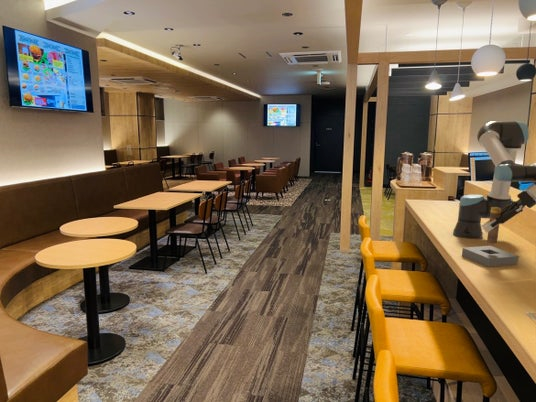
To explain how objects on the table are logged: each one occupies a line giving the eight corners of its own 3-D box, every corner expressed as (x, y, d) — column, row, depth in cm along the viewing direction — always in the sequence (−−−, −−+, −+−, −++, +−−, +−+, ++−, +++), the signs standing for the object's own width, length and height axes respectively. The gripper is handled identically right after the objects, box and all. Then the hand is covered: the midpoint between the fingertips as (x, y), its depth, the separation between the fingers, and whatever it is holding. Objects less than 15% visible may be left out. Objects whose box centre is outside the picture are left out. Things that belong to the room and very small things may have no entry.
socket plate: (489, 253, 190) (490, 245, 190) (517, 264, 175) (518, 256, 174) (461, 255, 186) (462, 247, 185) (488, 267, 171) (489, 258, 170)
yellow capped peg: (492, 240, 181) (496, 206, 178) (499, 243, 177) (503, 208, 174) (484, 241, 180) (488, 207, 177) (491, 243, 176) (496, 209, 173)
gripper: (542, 206, 161) (492, 240, 170) (532, 199, 177) (487, 231, 186) (529, 192, 162) (480, 227, 171) (520, 187, 178) (476, 219, 187)
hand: (484, 229), depth 179 cm, fingers closed on yellow capped peg, 4 cm apart
